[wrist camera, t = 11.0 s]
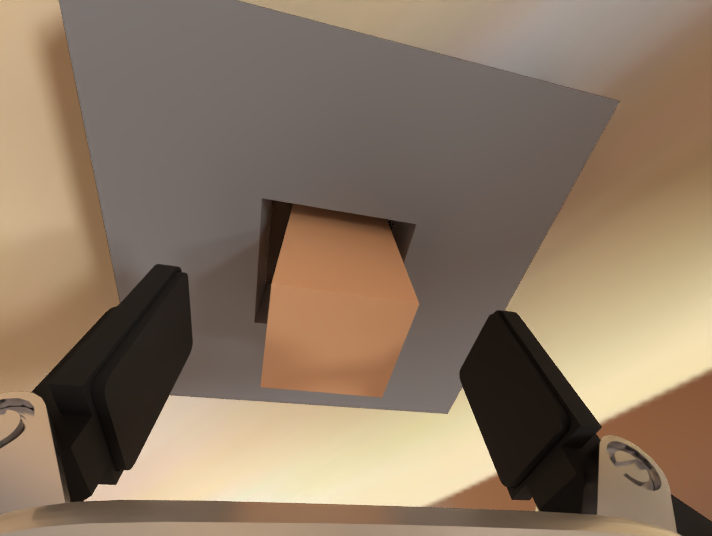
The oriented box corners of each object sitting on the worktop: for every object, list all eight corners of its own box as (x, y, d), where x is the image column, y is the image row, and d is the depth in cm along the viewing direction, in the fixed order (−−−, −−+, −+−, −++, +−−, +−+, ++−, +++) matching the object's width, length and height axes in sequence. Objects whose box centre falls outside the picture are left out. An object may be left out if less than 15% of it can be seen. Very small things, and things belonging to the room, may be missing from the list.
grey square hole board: (561, 95, 13) (619, 100, 10) (432, 371, 21) (447, 413, 18) (118, -19, 10) (48, -50, 8) (165, 347, 18) (138, 393, 16)
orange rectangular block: (383, 210, 15) (419, 303, 9) (363, 282, 17) (382, 397, 11) (296, 194, 14) (271, 283, 8) (285, 270, 16) (260, 387, 10)
